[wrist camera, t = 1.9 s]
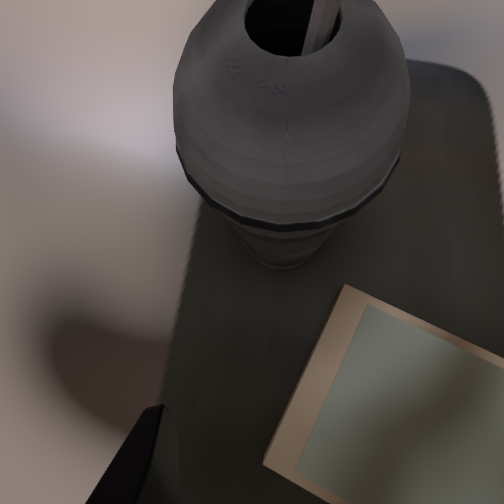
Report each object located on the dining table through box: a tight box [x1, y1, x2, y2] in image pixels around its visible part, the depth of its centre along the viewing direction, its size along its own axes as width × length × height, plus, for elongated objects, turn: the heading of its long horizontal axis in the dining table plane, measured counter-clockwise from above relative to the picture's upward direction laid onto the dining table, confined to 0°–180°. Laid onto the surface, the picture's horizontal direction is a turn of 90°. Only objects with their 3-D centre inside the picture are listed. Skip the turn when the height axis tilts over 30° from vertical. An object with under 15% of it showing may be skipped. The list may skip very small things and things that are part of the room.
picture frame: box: [263, 284, 504, 504], centre depth 19 cm, size 12×10×2 cm
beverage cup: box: [173, 0, 411, 270], centre depth 13 cm, size 7×7×20 cm
